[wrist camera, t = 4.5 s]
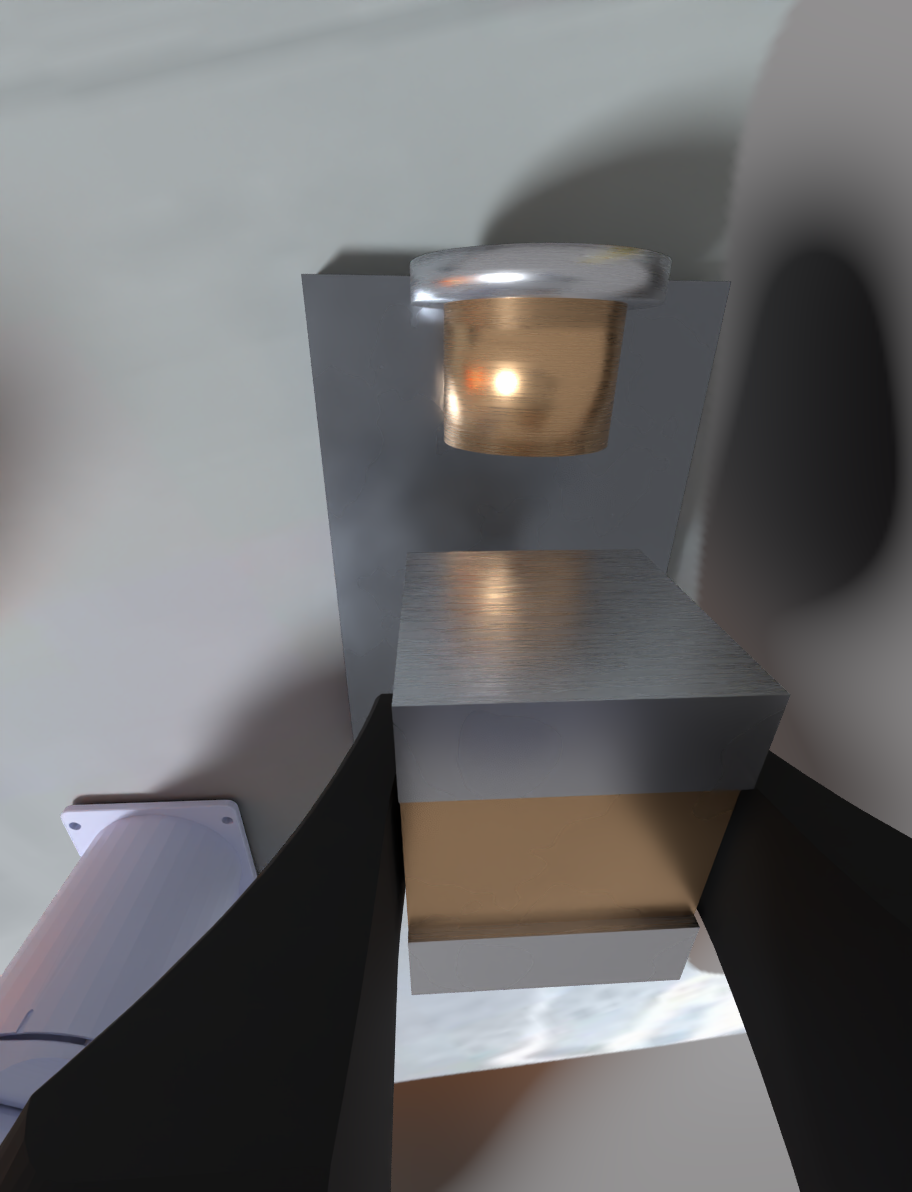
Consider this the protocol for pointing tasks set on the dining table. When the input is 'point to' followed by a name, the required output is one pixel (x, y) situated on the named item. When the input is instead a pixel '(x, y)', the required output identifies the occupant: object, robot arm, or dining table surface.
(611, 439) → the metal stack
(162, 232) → the dining table surface
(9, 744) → the dining table surface
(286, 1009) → the robot arm
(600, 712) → the block
